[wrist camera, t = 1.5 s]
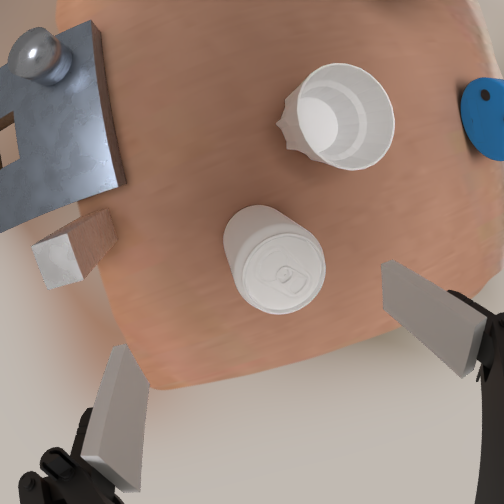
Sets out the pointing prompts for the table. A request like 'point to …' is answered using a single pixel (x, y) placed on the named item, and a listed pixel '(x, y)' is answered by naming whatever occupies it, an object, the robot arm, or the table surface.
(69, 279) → the grey square peg
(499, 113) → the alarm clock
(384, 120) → the cup
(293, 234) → the beverage can
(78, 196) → the slotted metal base
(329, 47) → the table surface
